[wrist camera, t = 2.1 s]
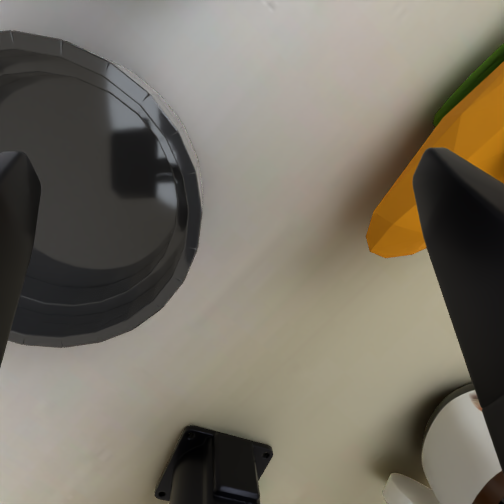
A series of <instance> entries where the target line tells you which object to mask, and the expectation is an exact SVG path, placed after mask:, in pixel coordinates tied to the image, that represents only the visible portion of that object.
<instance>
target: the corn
mask: <svg viewBox="0 0 504 504" xmlns="http://www.w3.org/2000/svg"><path fill="white" fill-rule="evenodd" d="M433 124H434V126H435V127H436V128H435V129H434V130H433V132H432V133H431V134H430V136H429V137H428V139H427V140H426V141H425V143H424V144H423V145H422V147H421V148H420V149H419V151H418V152H417V153H416V155H415V156H414V157H413V159H412V160H411V161H410V163H409V164H408V165H407V167H406V168H405V170H404V171H403V172H402V174H401V175H400V176H399V178H398V179H397V180H396V182H395V183H394V184H393V186H392V187H391V188H390V190H389V191H388V192H387V194H386V195H385V196H384V198H383V199H382V201H381V202H380V203H379V205H378V206H377V207H376V209H375V210H374V211H373V215H372V218H371V221H370V225H369V228H368V231H367V234H366V239H367V243H368V247H369V251H370V252H372V253H375V254H377V255H379V256H382V257H384V258H390V257H398V256H405V255H412V254H414V253H417V252H419V251H421V250H423V249H425V248H427V247H426V244H425V241H424V237H423V233H422V229H421V224H420V219H419V214H418V210H417V205H416V200H415V195H414V190H413V185H412V180H413V175H414V173H415V171H416V168H417V166H418V164H419V162H420V160H421V157H422V155H423V153H424V151H425V150H426V149H428V148H436V147H444V148H447V149H449V150H450V151H452V152H454V153H455V154H457V155H458V156H460V157H462V158H463V159H465V160H467V161H468V162H470V163H471V164H473V165H475V166H476V167H478V168H480V169H481V170H483V171H484V172H486V173H488V174H489V175H491V176H493V177H494V178H496V179H497V180H499V181H501V182H502V183H504V43H503V44H502V45H501V46H500V47H499V48H498V49H497V50H496V51H495V52H494V53H493V54H492V55H491V56H490V57H489V58H488V59H487V60H485V61H484V62H483V63H482V64H481V65H480V66H479V67H478V68H477V69H476V70H475V71H474V72H473V73H472V74H471V75H470V76H469V77H468V78H467V79H466V80H465V81H464V82H463V83H462V85H461V86H460V87H459V88H458V89H457V90H456V91H455V92H454V93H453V94H452V95H451V97H450V98H449V99H448V100H447V101H446V102H445V103H444V105H443V106H442V107H441V108H440V109H439V111H438V112H437V113H436V114H435V116H434V120H433Z"/></svg>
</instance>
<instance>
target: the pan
mask: <svg viewBox="0 0 504 504" xmlns="http://www.w3.org/2000/svg"><path fill="white" fill-rule="evenodd" d="M5 151H22V152H24V153H25V154H26V155H27V156H28V158H29V160H30V162H31V164H32V166H33V168H34V170H35V172H36V174H37V176H38V178H39V181H40V184H41V196H40V203H39V210H38V218H37V225H36V232H35V240H34V245H33V250H32V254H31V258H30V262H29V265H28V269H27V273H26V276H25V280H24V284H23V287H22V291H21V294H20V298H19V302H18V305H17V309H16V312H15V316H14V320H13V323H12V327H11V330H10V334H9V338H8V341H11V342H15V343H18V344H22V345H23V344H24V345H30V346H44V347H58V348H62V347H64V348H65V347H72V346H79V345H86V344H93V343H99V342H103V341H105V340H108V339H110V338H113V337H116V336H118V335H121V334H123V333H126V332H128V331H131V330H133V329H134V328H136V327H137V326H139V325H140V324H141V323H143V322H144V321H146V320H147V319H148V318H150V317H151V316H153V315H154V314H155V313H157V312H158V311H160V310H161V308H163V307H164V306H165V304H166V303H167V302H168V301H169V300H170V298H171V297H172V296H173V295H174V293H175V292H176V291H177V290H178V288H179V287H180V286H181V285H182V283H183V281H184V280H185V278H186V276H187V273H188V271H189V269H190V266H191V264H192V262H193V259H194V257H195V254H196V252H197V249H198V244H199V236H200V227H201V219H202V207H203V188H202V181H201V174H200V168H199V161H198V157H197V155H196V153H195V150H194V148H193V145H192V143H191V141H190V138H189V136H188V134H187V131H186V129H185V127H184V126H183V124H182V122H181V121H180V120H179V118H178V117H177V116H176V114H175V113H174V112H173V110H172V109H171V108H170V106H169V105H168V104H167V103H166V101H165V100H164V99H163V97H162V96H160V94H159V93H158V92H157V91H155V90H154V89H153V88H152V87H150V86H149V85H148V84H147V83H145V82H144V81H143V80H142V79H140V78H139V77H138V76H137V75H136V74H134V73H133V72H132V71H130V70H129V69H127V68H125V67H123V66H121V65H119V64H116V63H114V62H112V61H110V60H108V59H106V58H104V57H101V56H99V55H97V54H95V53H93V52H91V51H88V50H86V49H84V48H81V47H79V46H77V45H74V44H72V43H70V42H67V41H64V40H62V39H57V38H51V37H46V36H40V35H35V34H30V33H24V32H19V31H10V30H9V31H0V153H2V152H5Z"/></svg>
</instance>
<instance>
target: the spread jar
mask: <svg viewBox="0 0 504 504" xmlns="http://www.w3.org/2000/svg"><path fill="white" fill-rule="evenodd" d="M482 409H483V408H481V407H480V404H479V401H478V398H477V395H476V392H475V389H474V386H473V383H470V384H467V385H465V386H462V387H460V388H458V389H456V390H455V391H453V392H452V393H450V394H449V395H448V396H446V397H445V398H444V399H443V400H442V401H441V402H440V403H439V404H438V406H437V407H436V408H435V410H434V411H433V413H432V415H431V417H430V419H429V421H428V423H427V425H426V428H425V432H424V436H423V441H422V466H423V469H424V473H425V476H426V478H427V480H428V483H429V485H430V487H431V489H432V490H431V489H430V488H428V487H426V486H425V485H423V484H421V483H419V482H418V481H416V480H414V479H412V478H410V477H407V476H405V475H402V474H399V473H392V474H390V476H389V478H388V481H387V483H386V485H385V487H384V489H383V491H382V494H383V497H384V499H385V501H386V502H387V504H504V475H503V472H502V469H501V466H500V463H499V460H498V457H497V454H496V452H495V449H494V446H493V443H492V440H491V437H490V434H489V431H488V428H487V425H486V422H485V419H484V416H483V413H482Z"/></svg>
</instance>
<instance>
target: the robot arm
mask: <svg viewBox="0 0 504 504" xmlns="http://www.w3.org/2000/svg"><path fill="white" fill-rule="evenodd" d="M412 185H413V190H414V195H415V200H416V205H417V210H418V214H419V219H420V224H421V229H422V233H423V237H424V241H425V244H426V247H427V250H428V253H429V256H430V259H431V262H432V265H433V268H434V271H435V274H436V277H437V280H438V282H439V285H440V288H441V291H442V294H443V297H444V300H445V303H446V306H447V309H448V312H449V315H450V318H451V321H452V324H453V327H454V330H455V333H456V336H457V339H458V342H459V344H460V347H461V350H462V353H463V356H464V359H465V362H466V365H467V368H468V371H469V374H470V377H471V380H472V383H473V386H474V389H475V392H476V395H477V398H478V401H479V404H480V407H481V408H483V409H482V413H483V416H484V419H485V422H486V425H487V428H488V431H489V434H490V437H491V440H492V443H493V446H494V449H495V452H496V454H497V457H498V460H499V463H500V466H501V469H502V472H503V475H504V183H502V182H501V181H499V180H497V179H496V178H494V177H493V176H491V175H489V174H488V173H486V172H484V171H483V170H481V169H480V168H478V167H476V166H475V165H473V164H471V163H470V162H468V161H467V160H465V159H463V158H462V157H460V156H458V155H457V154H455V153H454V152H452V151H450V150H449V149H447V148H444V147H436V148H428V149H426V150H425V151H424V153H423V155H422V157H421V160H420V162H419V164H418V166H417V168H416V171H415V173H414V175H413V180H412ZM40 196H41V184H40V181H39V178H38V176H37V174H36V172H35V170H34V168H33V166H32V164H31V162H30V160H29V158H28V156H27V155H26V154H25V153H24V152H22V151H5V152H2V153H0V367H1V363H2V359H3V356H4V352H5V349H6V345H7V341H8V338H9V334H10V330H11V327H12V323H13V320H14V316H15V312H16V309H17V305H18V302H19V298H20V294H21V291H22V287H23V284H24V280H25V276H26V273H27V269H28V265H29V262H30V258H31V254H32V250H33V245H34V240H35V232H36V225H37V218H38V210H39V203H40ZM188 433H193V434H188ZM265 452H267V453H265ZM272 456H273V451H272V447H271V446H269V445H266V444H262V443H258V442H255V441H251V440H247V439H243V438H239V437H235V436H232V435H228V434H224V433H220V432H216V431H212V430H209V429H205V428H201V427H197V426H193V425H190V426H187V427H185V429H184V430H183V432H182V434H181V436H180V438H179V440H178V443H177V445H176V447H175V449H174V451H173V453H172V455H171V457H170V459H169V461H168V463H167V465H166V467H165V469H164V471H163V474H162V476H161V478H160V480H159V482H158V484H157V486H156V489H155V497H156V498H158V499H161V500H166V501H170V503H169V504H260V492H259V485H258V481H259V479H260V477H261V475H262V474H263V472H264V470H265V469H266V467H267V465H268V463H269V462H270V460H271V458H272ZM161 491H162V492H161Z"/></svg>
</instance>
